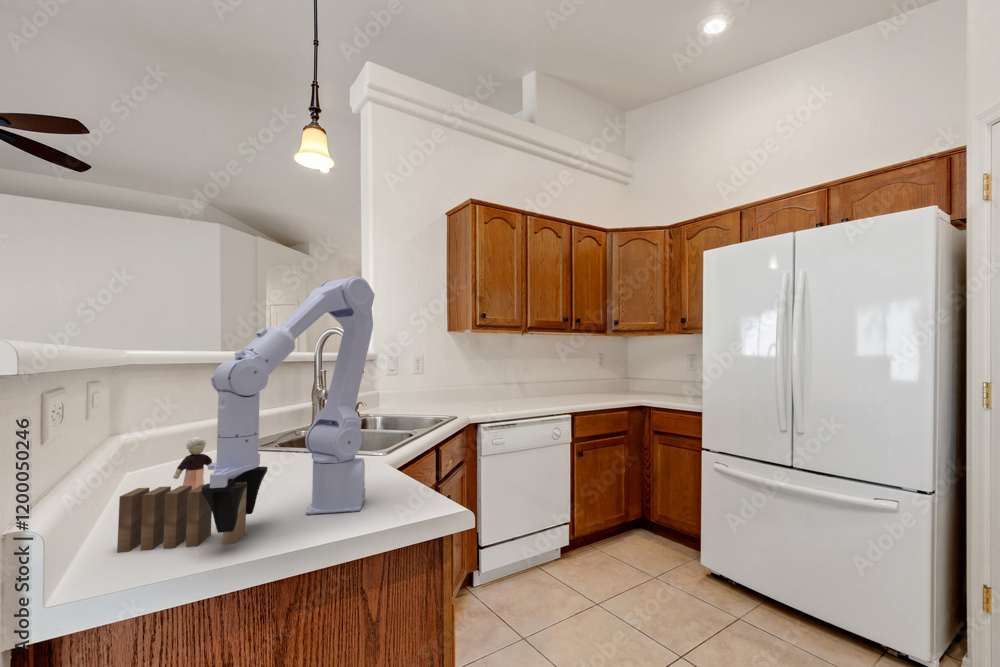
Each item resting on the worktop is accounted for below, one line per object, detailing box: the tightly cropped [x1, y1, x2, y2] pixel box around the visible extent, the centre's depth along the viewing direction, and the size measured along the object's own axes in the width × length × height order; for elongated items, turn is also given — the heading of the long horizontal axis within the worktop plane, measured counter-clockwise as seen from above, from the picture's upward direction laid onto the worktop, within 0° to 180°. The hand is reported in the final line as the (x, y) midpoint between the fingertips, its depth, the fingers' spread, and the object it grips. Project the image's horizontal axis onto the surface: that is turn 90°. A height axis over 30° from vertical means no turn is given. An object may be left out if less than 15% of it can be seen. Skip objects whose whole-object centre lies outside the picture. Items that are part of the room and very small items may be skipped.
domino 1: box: [116, 487, 150, 553], centre depth 67 cm, size 2×4×8 cm, turn 10°
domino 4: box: [185, 483, 213, 548], centre depth 69 cm, size 2×4×8 cm, turn 10°
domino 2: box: [140, 485, 172, 552], centre depth 68 cm, size 2×4×8 cm, turn 11°
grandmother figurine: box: [172, 436, 213, 490], centre depth 89 cm, size 8×4×13 cm, turn 168°
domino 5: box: [222, 482, 247, 545], centre depth 70 cm, size 2×4×8 cm, turn 10°
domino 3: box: [162, 485, 192, 550], centre depth 68 cm, size 2×4×8 cm, turn 11°
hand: (236, 522), depth 70 cm, fingers open, 7 cm apart
